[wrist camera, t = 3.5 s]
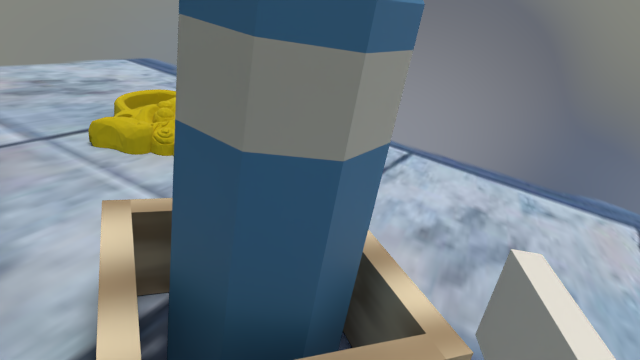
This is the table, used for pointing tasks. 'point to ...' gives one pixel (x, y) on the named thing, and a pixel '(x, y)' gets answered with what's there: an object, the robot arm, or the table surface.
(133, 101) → the door knocker
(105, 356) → the holder collar
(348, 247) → the water bottle
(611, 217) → the table surface
